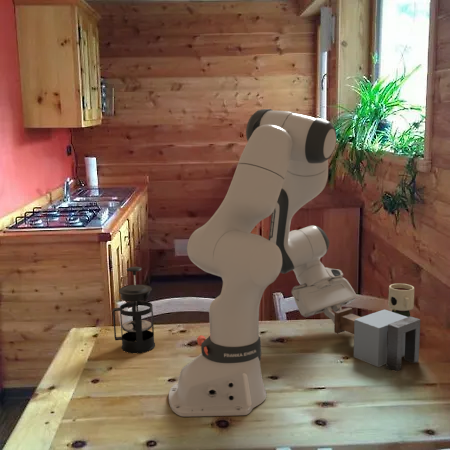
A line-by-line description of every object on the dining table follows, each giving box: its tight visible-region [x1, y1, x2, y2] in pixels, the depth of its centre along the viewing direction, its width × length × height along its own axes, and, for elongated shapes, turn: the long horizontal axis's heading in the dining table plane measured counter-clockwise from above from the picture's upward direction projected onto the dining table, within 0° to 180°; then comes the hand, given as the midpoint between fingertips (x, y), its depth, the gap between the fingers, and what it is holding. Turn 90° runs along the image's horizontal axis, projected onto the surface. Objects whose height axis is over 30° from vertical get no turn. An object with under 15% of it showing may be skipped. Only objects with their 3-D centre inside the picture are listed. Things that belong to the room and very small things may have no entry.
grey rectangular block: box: [353, 309, 407, 368], centre depth 153 cm, size 8×12×10 cm, turn 126°
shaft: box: [333, 307, 388, 341], centre depth 156 cm, size 18×6×6 cm, turn 36°
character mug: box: [387, 283, 415, 317], centre depth 170 cm, size 11×7×13 cm, turn 3°
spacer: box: [386, 315, 421, 372], centre depth 147 cm, size 3×9×12 cm, turn 126°
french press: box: [112, 266, 156, 354], centre depth 161 cm, size 12×9×23 cm
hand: (339, 321), depth 164 cm, fingers closed, pressing on shaft
